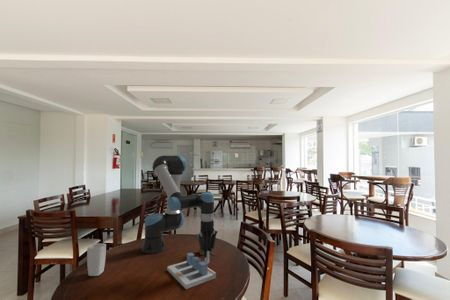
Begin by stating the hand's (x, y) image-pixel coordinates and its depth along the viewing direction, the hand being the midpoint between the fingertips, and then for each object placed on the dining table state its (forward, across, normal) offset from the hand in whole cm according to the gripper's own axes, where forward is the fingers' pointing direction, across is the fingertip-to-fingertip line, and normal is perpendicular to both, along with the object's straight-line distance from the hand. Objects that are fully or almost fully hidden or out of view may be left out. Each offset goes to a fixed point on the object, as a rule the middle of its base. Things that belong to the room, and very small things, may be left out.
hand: (207, 262), depth 126 cm
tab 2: (+1, -7, 0) cm, 7 cm away
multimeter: (+4, +12, +17) cm, 21 cm away
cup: (+4, -51, +30) cm, 60 cm away
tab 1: (+1, -7, +7) cm, 10 cm away
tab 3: (+1, -7, -7) cm, 10 cm away
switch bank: (+3, -10, 0) cm, 11 cm away
